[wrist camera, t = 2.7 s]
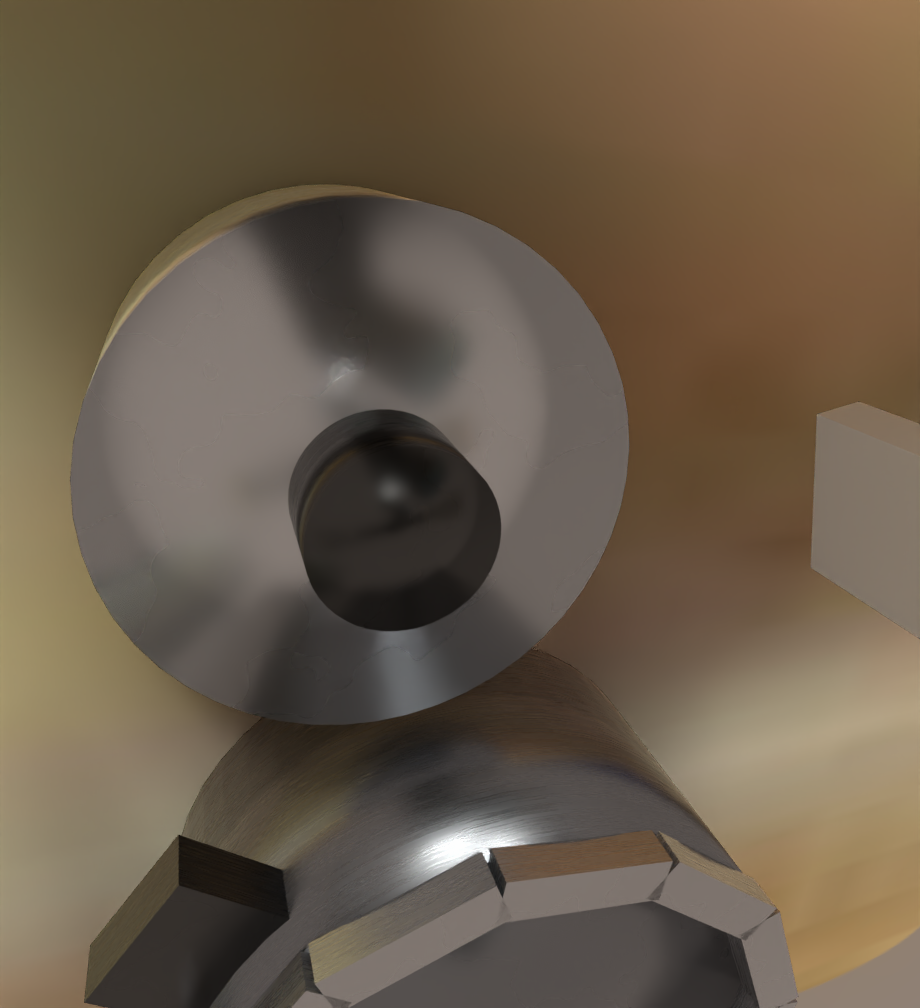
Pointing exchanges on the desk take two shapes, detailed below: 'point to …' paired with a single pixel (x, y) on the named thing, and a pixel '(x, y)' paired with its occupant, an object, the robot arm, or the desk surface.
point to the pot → (447, 871)
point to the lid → (346, 455)
